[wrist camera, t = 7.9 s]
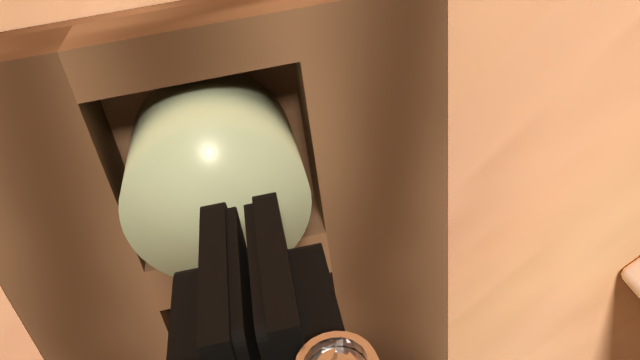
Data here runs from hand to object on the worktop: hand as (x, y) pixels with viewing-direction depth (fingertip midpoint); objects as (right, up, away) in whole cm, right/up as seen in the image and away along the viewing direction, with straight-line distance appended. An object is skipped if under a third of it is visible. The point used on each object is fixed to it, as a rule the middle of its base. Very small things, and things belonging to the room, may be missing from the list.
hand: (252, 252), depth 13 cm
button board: (-1, -3, +9) cm, 9 cm away
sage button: (-2, +3, +4) cm, 5 cm away
